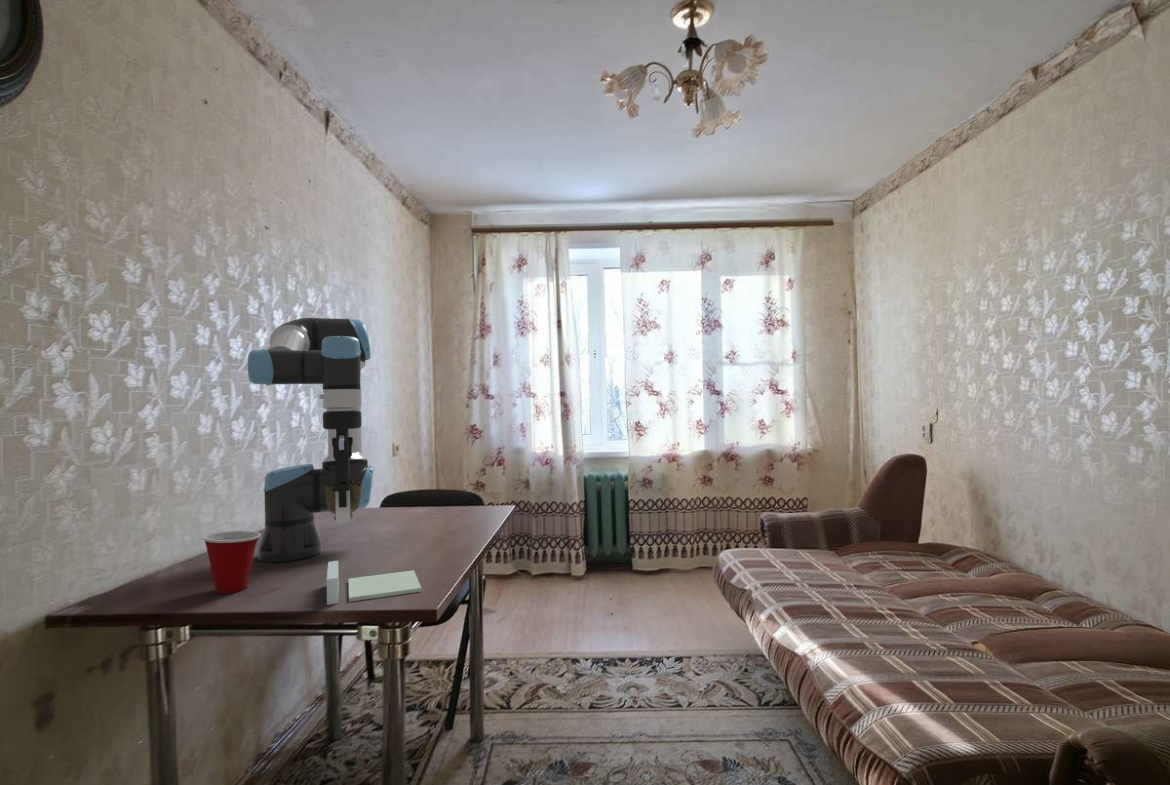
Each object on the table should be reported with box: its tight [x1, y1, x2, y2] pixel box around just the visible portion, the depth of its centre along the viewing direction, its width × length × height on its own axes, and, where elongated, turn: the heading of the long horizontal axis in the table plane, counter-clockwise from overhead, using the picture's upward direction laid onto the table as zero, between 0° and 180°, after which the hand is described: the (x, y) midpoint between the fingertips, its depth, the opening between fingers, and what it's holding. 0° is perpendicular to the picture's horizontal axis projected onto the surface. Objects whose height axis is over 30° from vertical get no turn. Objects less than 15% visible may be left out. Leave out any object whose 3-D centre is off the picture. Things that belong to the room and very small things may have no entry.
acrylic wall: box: [326, 560, 340, 606], centre depth 122 cm, size 14×2×5 cm, turn 22°
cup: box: [324, 481, 362, 522], centre depth 123 cm, size 8×7×8 cm
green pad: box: [347, 570, 422, 603], centre depth 126 cm, size 14×14×1 cm
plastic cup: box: [202, 530, 262, 595], centre depth 126 cm, size 11×11×12 cm
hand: (343, 519), depth 123 cm, fingers closed on cup, 7 cm apart
